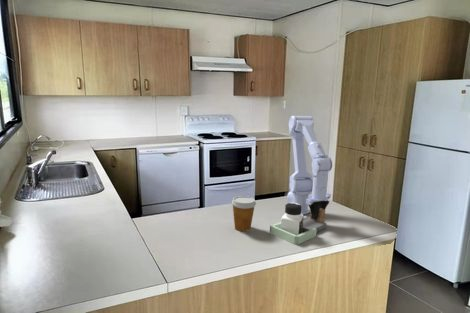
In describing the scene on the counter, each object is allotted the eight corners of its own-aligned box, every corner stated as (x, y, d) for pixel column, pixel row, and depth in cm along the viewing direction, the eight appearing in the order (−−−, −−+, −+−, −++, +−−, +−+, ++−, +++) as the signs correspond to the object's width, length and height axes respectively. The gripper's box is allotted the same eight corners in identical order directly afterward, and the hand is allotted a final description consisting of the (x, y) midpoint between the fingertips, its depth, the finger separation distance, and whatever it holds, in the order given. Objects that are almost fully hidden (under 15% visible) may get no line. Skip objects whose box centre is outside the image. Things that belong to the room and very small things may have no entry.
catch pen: (269, 232, 125) (270, 225, 125) (289, 225, 133) (289, 218, 133) (296, 245, 116) (297, 237, 115) (316, 236, 124) (316, 228, 123)
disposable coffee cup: (257, 225, 132) (258, 197, 129) (250, 235, 123) (252, 205, 121) (235, 222, 135) (236, 194, 132) (227, 230, 126) (228, 201, 124)
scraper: (291, 227, 131) (292, 211, 129) (309, 220, 139) (311, 204, 138) (310, 235, 124) (311, 218, 123) (328, 226, 133) (329, 210, 131)
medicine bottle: (298, 239, 121) (301, 208, 118) (280, 235, 123) (282, 205, 121) (302, 232, 127) (304, 203, 125) (284, 228, 130) (286, 200, 128)
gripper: (317, 191, 124) (314, 225, 127) (338, 185, 133) (335, 216, 136) (302, 187, 129) (300, 219, 132) (323, 181, 139) (320, 211, 141)
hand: (317, 217), depth 134 cm, fingers open, 3 cm apart
